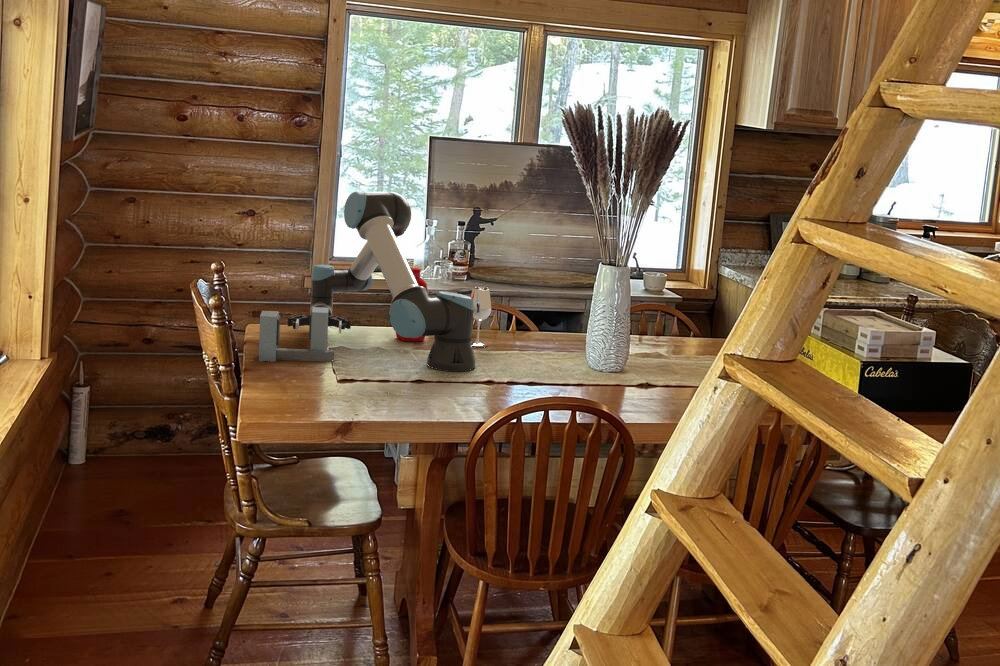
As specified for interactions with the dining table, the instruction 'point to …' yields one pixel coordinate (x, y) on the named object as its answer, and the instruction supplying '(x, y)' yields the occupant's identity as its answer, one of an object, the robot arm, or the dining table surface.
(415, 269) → the water bottle
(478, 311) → the wineglass
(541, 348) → the dining table surface
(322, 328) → the tall grey-blue pillar
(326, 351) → the grey l-shaped block
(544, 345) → the dining table surface
